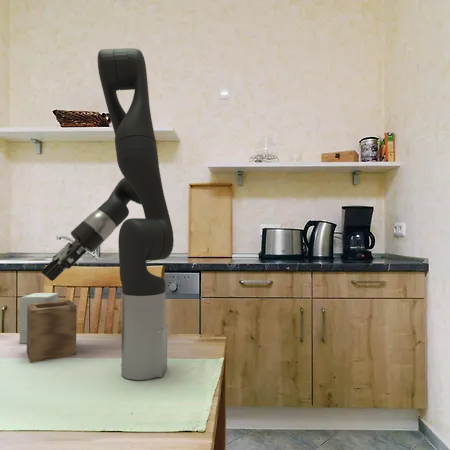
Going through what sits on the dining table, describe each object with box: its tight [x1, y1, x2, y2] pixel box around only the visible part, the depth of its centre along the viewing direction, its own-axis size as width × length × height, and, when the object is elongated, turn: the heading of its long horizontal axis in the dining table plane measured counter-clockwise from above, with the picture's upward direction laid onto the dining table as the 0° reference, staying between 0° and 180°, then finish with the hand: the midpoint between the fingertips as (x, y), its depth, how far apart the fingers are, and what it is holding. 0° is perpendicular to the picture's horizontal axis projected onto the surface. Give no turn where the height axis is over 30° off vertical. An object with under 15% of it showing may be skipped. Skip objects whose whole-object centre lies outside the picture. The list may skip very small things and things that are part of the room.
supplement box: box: [19, 292, 59, 344], centre depth 102 cm, size 7×7×13 cm
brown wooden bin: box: [26, 299, 78, 364], centre depth 91 cm, size 10×9×12 cm
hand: (46, 276), depth 90 cm, fingers open, 8 cm apart
